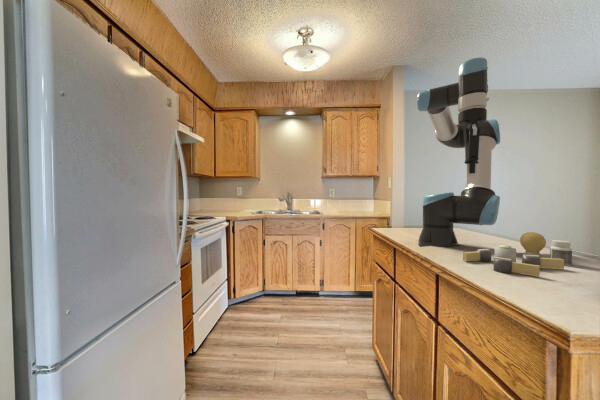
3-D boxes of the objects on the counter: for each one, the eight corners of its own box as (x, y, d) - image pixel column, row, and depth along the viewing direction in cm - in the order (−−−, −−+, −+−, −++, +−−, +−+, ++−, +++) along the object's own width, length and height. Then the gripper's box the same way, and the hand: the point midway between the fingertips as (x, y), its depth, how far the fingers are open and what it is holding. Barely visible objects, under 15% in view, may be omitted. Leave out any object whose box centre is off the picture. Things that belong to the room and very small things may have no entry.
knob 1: (483, 258, 83) (483, 247, 83) (494, 261, 79) (494, 250, 79) (459, 260, 81) (459, 249, 81) (469, 263, 77) (470, 252, 77)
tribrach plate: (459, 260, 85) (460, 239, 85) (521, 264, 81) (522, 241, 80) (484, 278, 68) (484, 251, 68) (565, 283, 63) (566, 255, 63)
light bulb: (518, 258, 88) (518, 230, 87) (543, 261, 84) (543, 231, 84) (520, 262, 83) (521, 232, 82) (547, 265, 79) (548, 234, 79)
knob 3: (527, 268, 71) (527, 256, 71) (518, 265, 75) (518, 253, 75) (567, 271, 69) (568, 258, 69) (557, 267, 73) (557, 255, 72)
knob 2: (492, 271, 70) (492, 258, 69) (494, 267, 72) (494, 255, 72) (539, 279, 63) (539, 265, 63) (539, 275, 66) (539, 261, 66)
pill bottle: (576, 270, 74) (577, 242, 73) (557, 269, 75) (558, 242, 74) (563, 266, 78) (563, 239, 78) (545, 265, 79) (546, 239, 79)
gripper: (491, 101, 72) (490, 183, 72) (482, 114, 83) (481, 184, 84) (460, 106, 75) (459, 183, 76) (456, 117, 87) (455, 184, 87)
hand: (471, 183), depth 80 cm, fingers closed
